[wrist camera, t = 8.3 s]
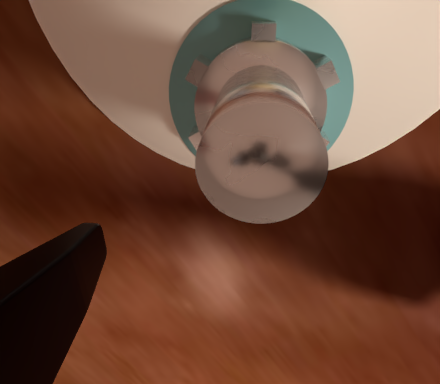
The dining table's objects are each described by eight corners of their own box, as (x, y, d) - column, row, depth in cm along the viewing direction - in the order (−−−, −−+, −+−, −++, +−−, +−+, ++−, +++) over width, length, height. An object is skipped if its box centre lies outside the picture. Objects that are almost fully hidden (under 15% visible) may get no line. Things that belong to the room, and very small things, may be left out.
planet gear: (341, 21, 15) (409, 40, 8) (318, 170, 18) (351, 266, 12) (188, 21, 15) (136, 39, 9) (195, 165, 19) (161, 254, 12)
